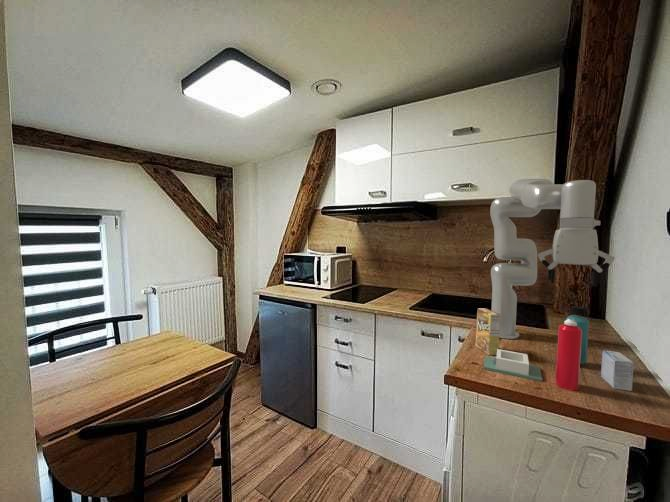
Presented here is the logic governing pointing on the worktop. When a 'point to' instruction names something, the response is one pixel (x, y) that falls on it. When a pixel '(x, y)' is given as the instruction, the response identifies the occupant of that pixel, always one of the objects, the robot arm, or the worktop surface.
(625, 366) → the medicine box
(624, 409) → the worktop surface
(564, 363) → the bottle
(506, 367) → the board
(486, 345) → the candy box
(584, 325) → the beverage bottle
